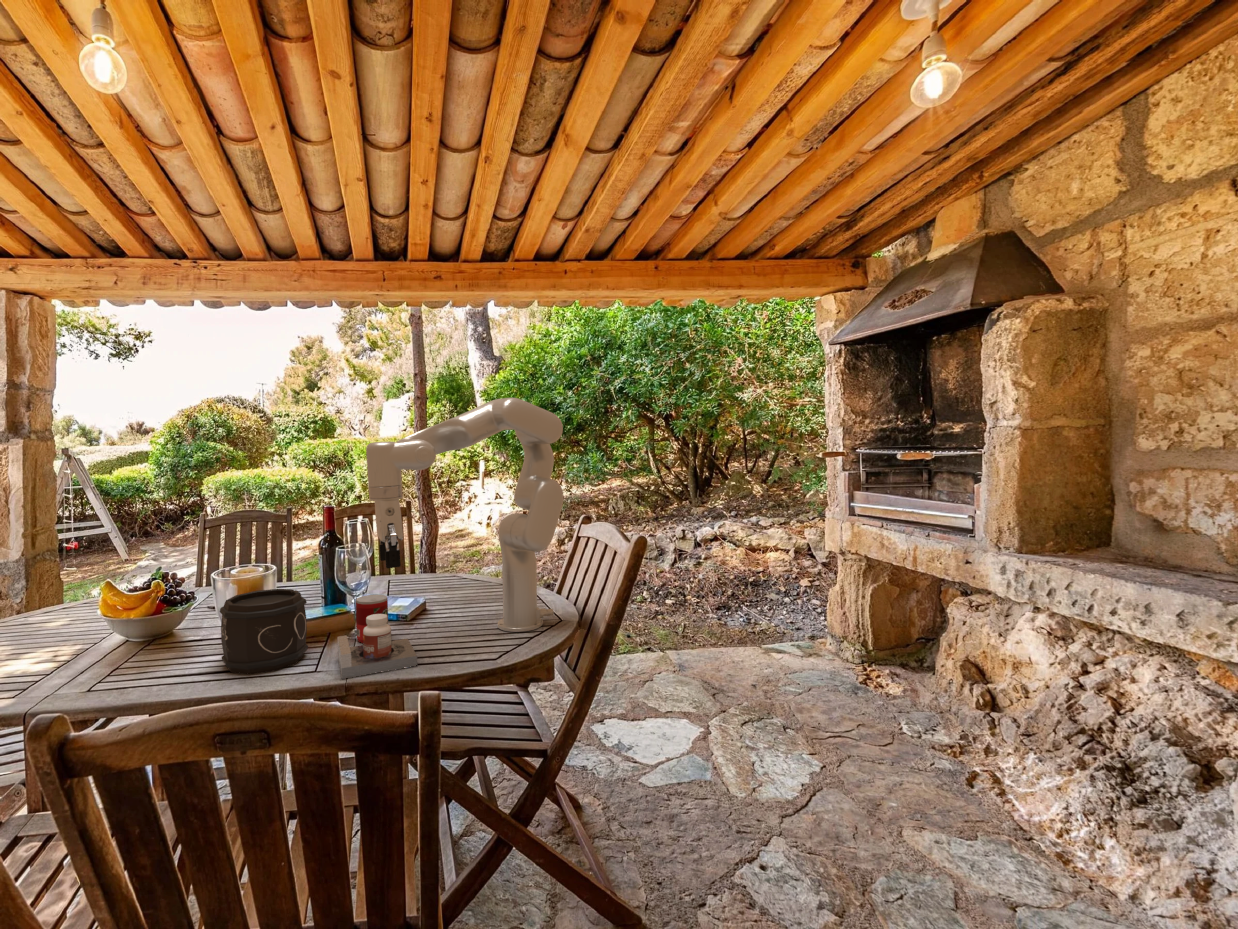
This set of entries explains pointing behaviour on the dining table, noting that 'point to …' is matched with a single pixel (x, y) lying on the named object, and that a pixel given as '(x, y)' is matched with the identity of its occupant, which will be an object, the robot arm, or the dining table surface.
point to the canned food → (369, 610)
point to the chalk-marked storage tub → (263, 630)
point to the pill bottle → (376, 636)
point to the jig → (357, 665)
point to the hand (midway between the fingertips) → (390, 563)
